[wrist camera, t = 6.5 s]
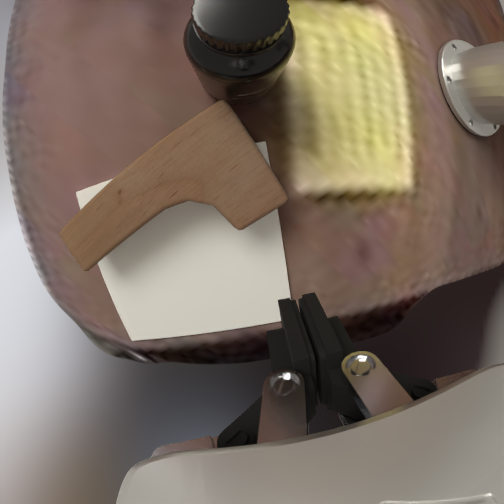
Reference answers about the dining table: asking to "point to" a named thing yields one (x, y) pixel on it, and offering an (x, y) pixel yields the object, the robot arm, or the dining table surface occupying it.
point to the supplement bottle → (239, 46)
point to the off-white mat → (195, 271)
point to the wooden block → (179, 184)
